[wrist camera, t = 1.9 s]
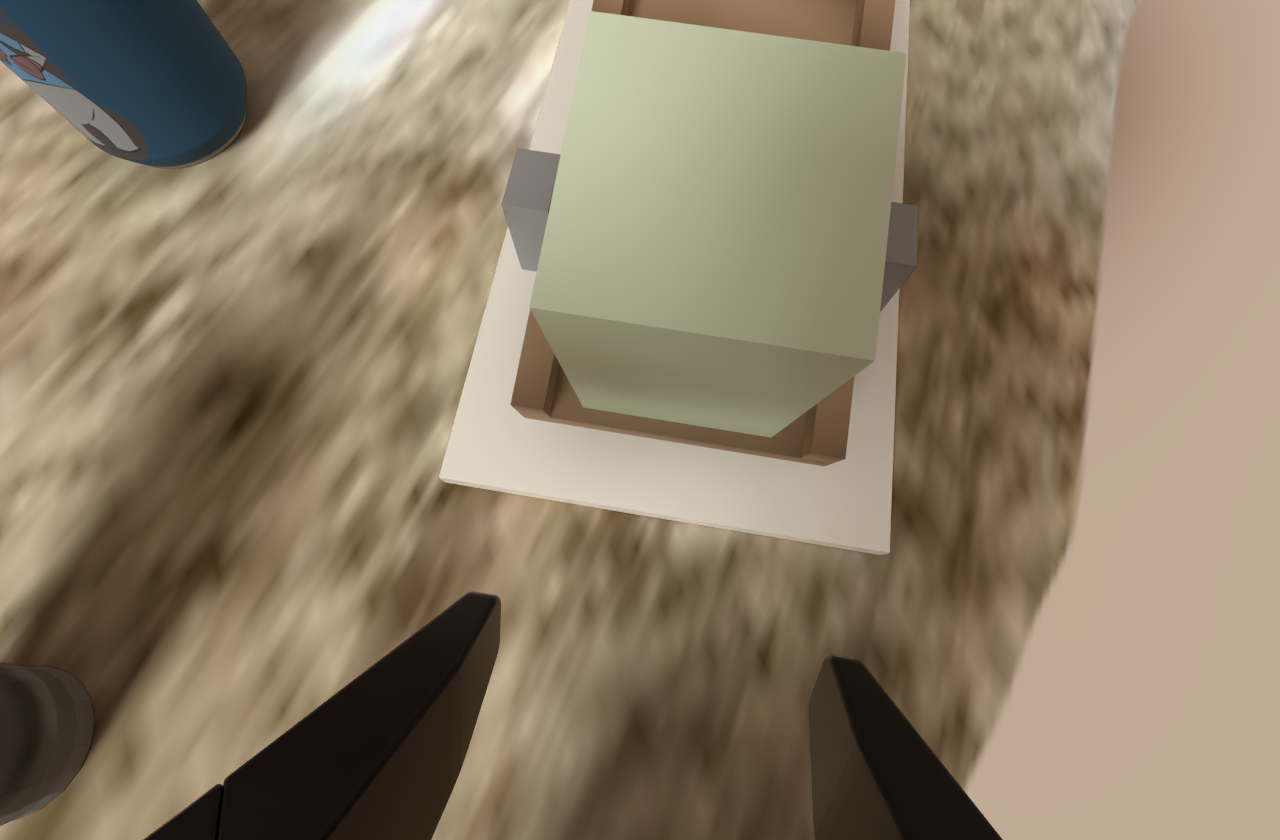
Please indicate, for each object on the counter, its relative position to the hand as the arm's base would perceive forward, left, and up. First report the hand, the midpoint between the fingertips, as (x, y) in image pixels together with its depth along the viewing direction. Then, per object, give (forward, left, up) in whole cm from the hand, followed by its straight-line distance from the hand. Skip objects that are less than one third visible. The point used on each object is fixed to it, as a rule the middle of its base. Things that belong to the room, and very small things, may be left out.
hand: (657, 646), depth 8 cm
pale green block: (+3, +9, -9) cm, 13 cm away
